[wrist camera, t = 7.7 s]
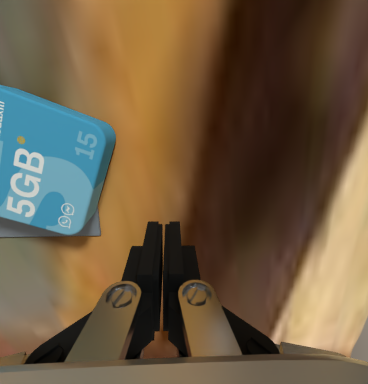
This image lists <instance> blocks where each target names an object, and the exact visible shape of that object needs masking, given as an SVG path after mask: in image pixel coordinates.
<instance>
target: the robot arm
mask: <svg viewBox="0 0 368 384" xmlns="http://www.w3.org/2000/svg"><path fill="white" fill-rule="evenodd" d="M162 273H163V331H168V340H169V341H170V342H171V343H173V344H174V345H175V346H176V347H177V358H152V359H143V356H144V348H145V347H146V346H147V345H148V344H149V343H150V342H151V341H152V340H154V333H155V331H159V330H160V311H161V292H162ZM0 384H368V362H366V361H361V360H357V359H352V358H348V357H346V356H344V355H342V354H339V353H336V352H331V351H326V350H321V349H316V348H311V347H306V346H300V345H295V344H290V343H285V342H281V343H280V345H278V344H274V342H273V341H272V340H270V339H269V338H268V337H267V336H265V335H264V334H263V333H261V332H260V331H258V330H257V329H255V328H254V327H252V326H251V325H249V324H248V323H246V322H245V321H243V320H242V319H240V318H239V317H238V316H236V315H235V314H233V313H232V312H230V311H229V310H227V309H226V308H224V307H223V306H221V304H220V302H219V299H218V297H217V295H216V293H215V290H214V289H213V287H212V286H211V285H210V284H208V283H207V282H204V281H201V280H200V274H199V268H198V263H197V257H196V251H195V246H181V234H180V222H170V224H165V245H164V265H163V240H162V224H159V223H158V222H148V224H147V229H146V234H145V239H144V243H143V246H132V247H131V250H130V253H129V257H128V260H127V263H126V267H125V270H124V274H123V277H122V280H121V282H117V283H115V284H112V285H111V286H109V287H108V288H107V289H106V290H105V291H104V293H103V294H102V296H101V298H100V299H99V301H98V303H97V305H96V307H95V308H94V310H93V311H92V312H90V313H89V314H87V315H86V316H84V317H83V318H81V319H80V320H78V321H77V322H75V323H74V324H72V325H71V326H69V327H68V328H66V329H65V330H63V331H62V332H60V333H58V334H57V335H55V336H54V337H52V338H51V339H49V340H48V341H46V342H45V343H43V344H42V345H40V346H39V347H38V348H37V349H35V350H34V351H33V352H32V353H31V354H28V355H27V354H26V352H21V353H17V354H13V355H9V356H5V357H1V358H0Z"/></svg>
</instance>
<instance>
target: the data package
mask: <svg viewBox="0 0 368 384" xmlns="http://www.w3.org/2000/svg"><path fill="white" fill-rule="evenodd" d="M115 141H116V135H115V132H114V130H113V128H112V127H111V126H110V125H109V124H107V123H106V122H103V121H101V120H98V119H95V118H93V117H90V116H88V115H85V114H82V113H80V112H77V111H74V110H72V109H69V108H67V107H64V106H61V105H59V104H56V103H53V102H51V101H48V100H45V99H43V98H40V97H38V96H35V95H32V94H30V93H27V92H24V91H22V90H19V89H16V88H11V87H7V86H2V85H0V217H2V218H6V219H10V220H13V221H17V222H21V223H24V224H28V225H31V226H35V227H39V228H42V229H46V230H50V231H53V232H57V233H61V234H64V235H73V234H76V233H78V232H80V231H81V230H82V228H83V227H84V226H85V225H86V223H87V222H88V221H89V219H90V218H91V217H92V216H93V214H94V213H95V211H96V208H97V205H98V201H99V198H100V194H101V191H102V187H103V184H104V180H105V177H106V173H107V170H108V166H109V163H110V159H111V156H112V152H113V149H114V145H115Z"/></svg>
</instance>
